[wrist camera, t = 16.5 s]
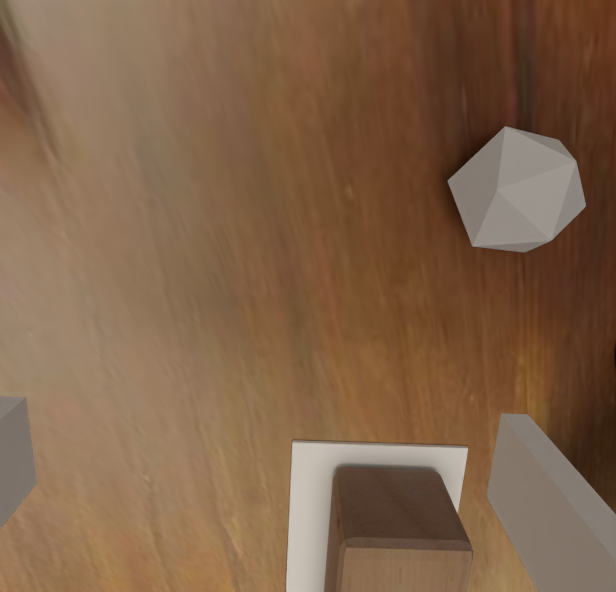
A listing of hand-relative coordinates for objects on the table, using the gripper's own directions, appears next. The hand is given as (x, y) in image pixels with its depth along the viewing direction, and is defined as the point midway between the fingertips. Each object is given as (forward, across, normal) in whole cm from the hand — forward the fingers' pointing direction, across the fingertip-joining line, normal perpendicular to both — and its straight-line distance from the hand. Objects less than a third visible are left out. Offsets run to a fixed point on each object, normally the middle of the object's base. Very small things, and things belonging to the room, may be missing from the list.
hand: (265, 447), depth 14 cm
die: (+27, +16, +6) cm, 32 cm away
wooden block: (+21, +10, -39) cm, 46 cm away
